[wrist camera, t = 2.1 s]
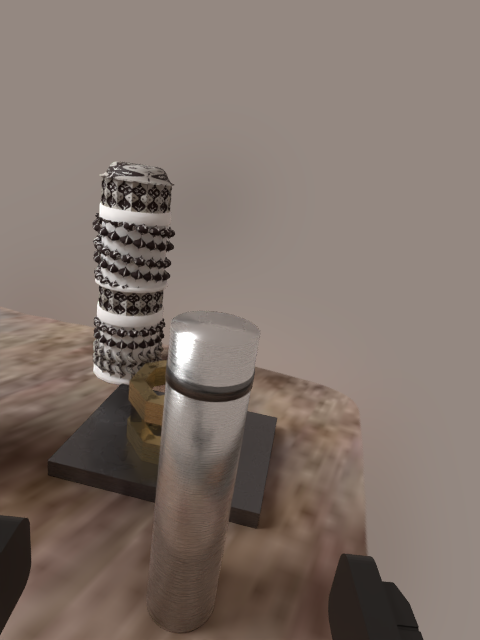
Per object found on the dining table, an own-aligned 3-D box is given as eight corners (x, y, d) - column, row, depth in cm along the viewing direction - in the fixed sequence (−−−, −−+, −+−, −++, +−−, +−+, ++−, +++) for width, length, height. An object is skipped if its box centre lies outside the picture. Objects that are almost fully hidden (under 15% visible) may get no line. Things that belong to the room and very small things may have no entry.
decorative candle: (80, 383, 50) (82, 158, 41) (99, 350, 58) (105, 158, 50) (158, 390, 51) (176, 172, 42) (166, 356, 59) (183, 170, 51)
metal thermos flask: (134, 621, 25) (156, 333, 19) (160, 558, 30) (186, 305, 23) (205, 643, 25) (254, 353, 18) (222, 575, 29) (266, 320, 23)
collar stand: (48, 475, 35) (46, 397, 33) (121, 394, 49) (124, 335, 46) (256, 528, 33) (272, 450, 31) (274, 429, 46) (287, 368, 44)
